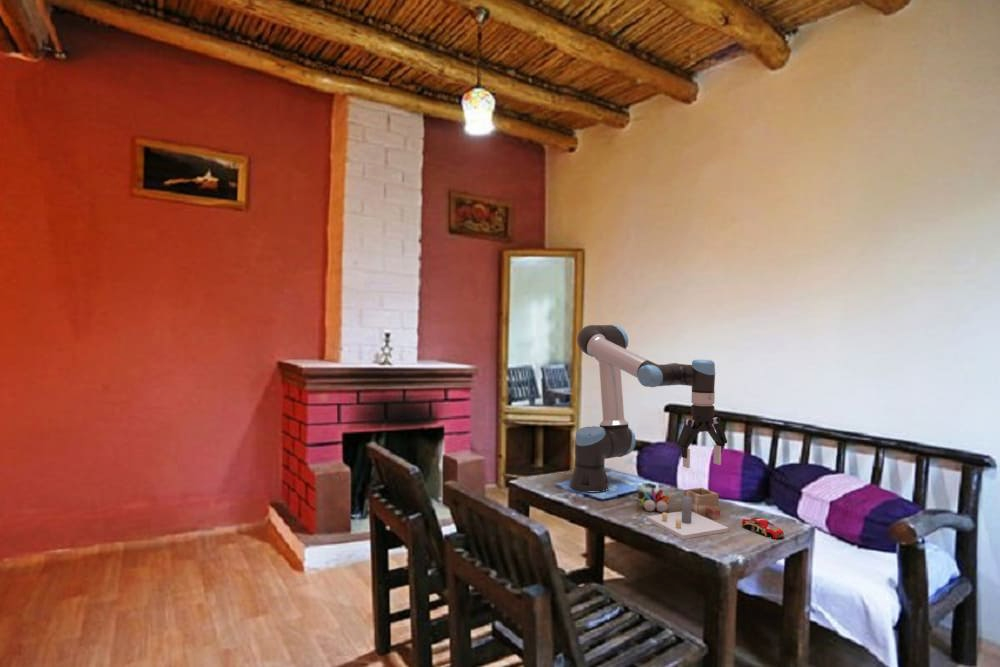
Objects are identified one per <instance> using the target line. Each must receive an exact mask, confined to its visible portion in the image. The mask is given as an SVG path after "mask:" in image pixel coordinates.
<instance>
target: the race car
mask: <svg viewBox="0 0 1000 667" xmlns="http://www.w3.org/2000/svg"><path fill="white" fill-rule="evenodd" d="M741 526H742V527H743V528H744V529H745V530H748V531H751V532H753V533H757V534H760V535H761V536H764V537H767V538H768V537H771V538H773V539H776V538H778V539H783V538H784V537H785V536H784V535H785V534H784V531H783V530H782V529H781V528H779V527H777V526H775V525H774V523H772V522H770V521H769V520H767V519H764V518H761V517H752V516H751V517H750V516H749V517H744V518H743V519H742V521H741ZM771 538H770V539H771Z"/></svg>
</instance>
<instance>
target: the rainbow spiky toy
mask: <svg viewBox="0 0 1000 667" xmlns="http://www.w3.org/2000/svg"><path fill="white" fill-rule="evenodd" d="M655 491H656V490H655V489H654V488H650V492H651V495H650V494H649V493H648V492H646V491H645V492H643V495H644V497H643V498H642V499H641V500H640V503H641V505H643V508H644V509H645V510H646V511H647V512H653V511H655V510H656V511H658V512H660V513H663V512H665V513H666V512H667V510H668V509H669V508H670V503H669V502H668V500H669V498H670V497H669V495H667V494H666V495H663V489H659V490H658V491H657V492H655Z"/></svg>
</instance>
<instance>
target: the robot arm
mask: <svg viewBox="0 0 1000 667" xmlns="http://www.w3.org/2000/svg"><path fill="white" fill-rule="evenodd" d="M576 344H577V346H578V349H579V350H580V351H582V352H583V353H584V354H586V355H587V356H589V357H591V358H595V360H596V361H597V362H598V364H599V366H598V367H599V380H600V382H599V383H600V397H601V408H602V410H601V412H602V421H601V422H600V423H599V425H598V426H596V425H592V426H584V427H581V428H578V430H576V432H575V439H574V468H573V472H572V474H571V478H570V480H569V483H570V484H569V486H570V488H571V489H573V491H577V490H579V491H578V492H582V491H603V490H606V489H608V488H609V489H610V486H609V484H610V482H609V479H608V476H607V473H606V470H605V462H606V461H605V460H607V459H612V458H613V459H614V458H622V457H626V456H627V455H630V454H631V453H632V451H633V450H634V449H635V446H636V434H635V432H633V429H632V428H630V427H629V422H627V420H625V413H624V411H625V410H624V399H623V398H624V397H623V385H622V384H623V383H622V372H621V371H623V372H625V373H627V374H629V375H631V376H633V377H635V378H637V380H638V382H639V383H640V384H641V386H643V387H645V388H646V387H647V388H656V387H665V386H666V387H667V386H670V387H671V386H688V387H691V398H690V399H691V403H692V404H691V407H690V408H691V409H690V410H691V411H690V412H691V416H692V418H691V419H688V418H684V422H683V423H684V424H683V427H682V430H681V433H679V437H678V439H677V441H676V447H679V448H681V455H680V456H681V458H682V467H683V468H687V469H690V468H691V448H690V445H691V444H692V443H693V441H694V440H695V438H696V436H697V435H698V434H700V433H703V432H707V433H708V434H709V436H710V437H711V439H712V440H713V442H714V443H715V444H713V464H715V465H718V466H721V464H722V454H723V447H725V446H726V444H727V443H728V440H727V437H726V434H725V432H724V428H723V426H722V423H721V418H720V417H717V416H716V417H715V406H714V404H715V395H716V394H715V392H716V391H715V384H716V367H715V361H713V360H712V359H694V360H692V362H691V364H684V363H678V362H677V363H676V362H675V363H674V362H673V363H672V362H671V363H669V362H668V363H665V364H658V363H655V362H653V361H651V360H649V359H647V358H645V357H643V356H640V355H639V354H637V353H634V352H633V351H630V350H628V349H627V348H628V347H629V337H628V334H627V333H626V331H625V330H624V329H623V328H622V327H621V326H618V325H613V324H603V325H600V324H591V325H590V324H589V325H586V326H584V327H583V328H581V329H580V331H579V332H578V334H577V337H576ZM609 489H608V490H609ZM606 491H607V490H606ZM603 492H604V491H603Z"/></svg>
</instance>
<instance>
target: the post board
mask: <svg viewBox="0 0 1000 667" xmlns="http://www.w3.org/2000/svg"><path fill="white" fill-rule="evenodd" d="M645 518H646V521H647V522H649V523H651V524H653V525H655V526H657V527H659V528H660V529H662V530H664V531H666V532H668V533H670V534H672V535H674V536H676V537H678V538H679V539H681V540H688V539H693V538H699V537H706V536H711V535H717V534H722V533H729V532H730V528H729V527H728V526H725V525H724V524H721V523H719V522H716V521H714V520H713V519H711V518H709V517H706V516H704V517H703V516H701V515H699V514H697V513H694V512H692V497H689V496H684V495H683V496H682V497H681V511H675V512H674V511H673V512H669V513H667V512H666V511H665V512H661V513H660V514H654V515H647V516H646V517H645Z"/></svg>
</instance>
